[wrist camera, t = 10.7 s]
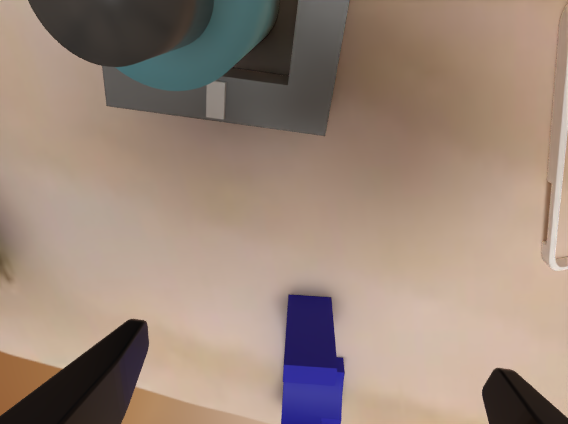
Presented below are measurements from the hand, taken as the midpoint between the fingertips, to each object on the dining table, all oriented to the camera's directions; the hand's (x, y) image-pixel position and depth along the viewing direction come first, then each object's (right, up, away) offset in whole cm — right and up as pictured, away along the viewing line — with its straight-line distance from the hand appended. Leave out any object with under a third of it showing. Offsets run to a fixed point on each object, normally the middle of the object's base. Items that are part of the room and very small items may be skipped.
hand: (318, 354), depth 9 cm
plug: (-3, +14, +8) cm, 16 cm away
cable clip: (+1, -7, +19) cm, 21 cm away
